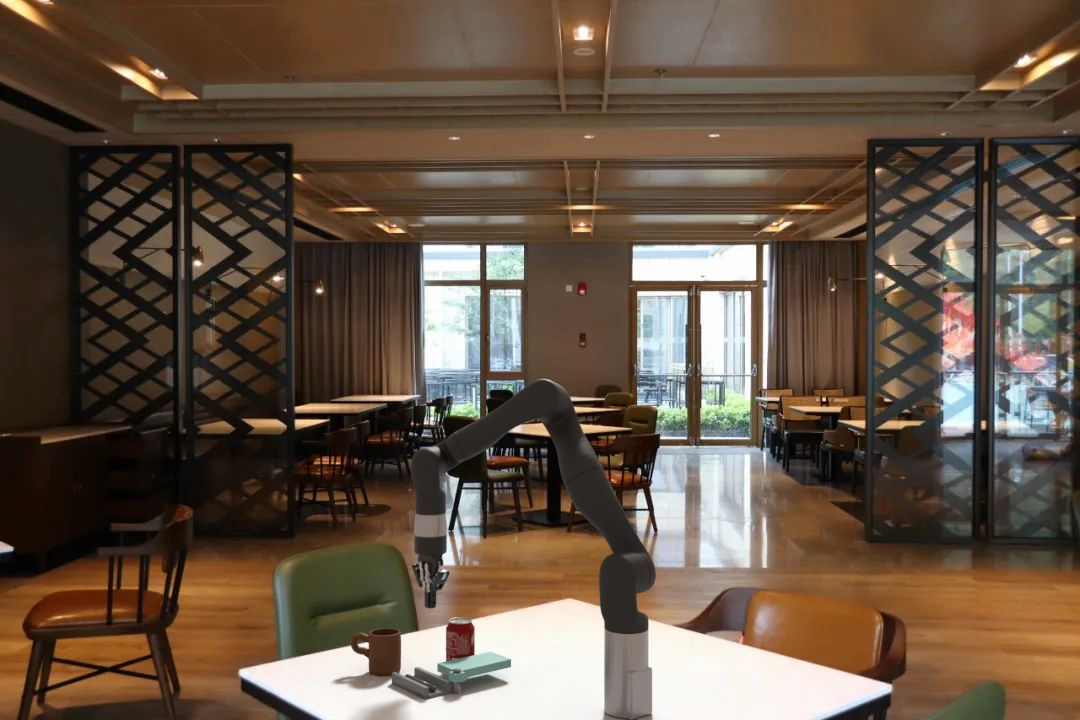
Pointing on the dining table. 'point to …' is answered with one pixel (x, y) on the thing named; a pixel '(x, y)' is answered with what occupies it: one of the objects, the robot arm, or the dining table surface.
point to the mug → (380, 650)
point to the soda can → (460, 638)
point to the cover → (473, 666)
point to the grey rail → (424, 683)
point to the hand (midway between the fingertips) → (430, 607)
